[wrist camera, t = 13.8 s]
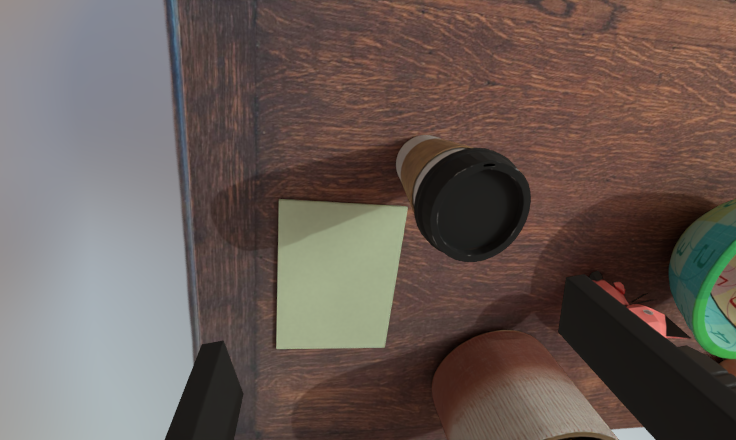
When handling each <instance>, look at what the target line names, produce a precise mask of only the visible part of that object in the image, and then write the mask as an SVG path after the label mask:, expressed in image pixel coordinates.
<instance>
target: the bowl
mask: <svg viewBox="0 0 736 440" xmlns="http://www.w3.org/2000/svg"><path fill="white" fill-rule="evenodd" d="M669 284H670V289H671V293H672V295H673V298H674V301H675V303H676V305H677V307H678V309H679V311H680V312H681V314H682V315H683V317H684V319H685V321H686V323H687V326H688V327H689V328H690V329H691V331H692V332H693V335H694V337H695V339H696V341H697V342H698V343H699V344H700V346H701V347H702V348H703V349H705V350H706V351H707V352H709V353H710V354H713V355H715V356H718V357H721V358H728V359H736V199H734V200H731V201H728V202H726V203H723V204H721V205H719V206H717V207H715V208H713V209H712V210H710V211H709V212H707V213H705V214H704V215H702V216H701V217H699V218H698V219H697V220H696V221H694V222H693V223H692V224H691V225H690V226H689V227H688V228H687V229H686V230H685V232H684V233H683V234H682V235H681V237H680V238H679V240H678V241H677V243H676V245H675V247H674V249H673V252H672V255H671V259H670V264H669Z"/></svg>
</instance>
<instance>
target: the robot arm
mask: <svg viewBox="0 0 736 440" xmlns="http://www.w3.org/2000/svg"><path fill="white" fill-rule="evenodd" d="M558 332H559V333H560V335H561V336H562V337H563V338H564V339H565V340H566V341H567V342H568V343H569V345H570V346H571V347H572V348H573V349H574V350H575V351H576V352H577V353H578V354H579V356H580V357H581V358H582V359H583V360H584V361H585V362H586V363H587V364H588V366H589V367H590V368H591V369H592V370H593V371H594V372H595V373H596V374H597V375H598V377H599V378H600V379H601V380H602V381H603V382H604V383H605V384H606V385H607V387H608V388H609V389H610V390H611V391H612V392H613V393H614V394H615V395H616V396H617V398H618V399H619V400H620V401H621V402H622V403H623V404H624V405H625V406H626V408H627V409H628V410H629V411H630V412H631V413H632V414H633V415H634V416H635V417H636V419H637V420H638V421H639V422H640V423H641V424H642V425H643V426H644V427H645V428H646V430H647V431H648V432H649V433H650V434H651V435H652V436H653V437H654V438H655V439H656V440H736V377H735V376H734V375H733V374H731V373H730V374H729V373H728V372H727V370H726V369H725V368H723V367H722V366H721V365H719V364H718V363H717V362H715V361H714V360H713V359H711V358H710V357H709V356H707V355H705V354H703V353H701V352H699V351H697V350H695V349H693V348H691V347H689V346H681V347H677V346H675V345H674V344H673V343H671V342H670V341H669V340H668V339H666V338H665V337H664V336H663V335H661V334H660V333H659V332H657V331H656V330H655V329H654V328H652V327H651V326H650V325H649V324H647V323H646V322H645V321H643V320H642V319H641V318H640V317H638V316H637V315H636V314H635V313H633V312H632V311H631V310H629V309H628V308H627V307H626V306H624V305H623V304H622V303H621V302H619V301H618V300H617V299H615V298H614V297H613V296H612V295H610V294H609V293H608V292H606V291H605V290H604V289H603V288H601V287H600V286H599V285H598V284H596V283H595V282H594V281H592V280H591V279H590V278H589V277H587V276H586V275H585V274H583V275H578V276H572V277H567V278H566V282H565V289H564V296H563V302H562V309H561V316H560V323H559V330H558ZM242 398H243V392H242V389H241V386H240V384H239V381H238V378H237V375H236V373H235V370H234V367H233V365H232V362H231V359H230V356H229V354H228V351H227V348H226V346H225V343H224V341H218V342H213V343H208V344H202V345H201V348H200V351H199V353H198V356H197V358H196V361H195V363H194V366H193V369H192V371H191V374H190V376H189V379H188V381H187V384H186V386H185V389H184V392H183V394H182V397H181V399H180V402H179V404H178V407H177V410H176V412H175V415H174V417H173V420H172V422H171V425H170V427H169V430H168V433H167V435H166V438H165V440H234V437H235V432H236V427H237V422H238V417H239V413H240V408H241V403H242Z"/></svg>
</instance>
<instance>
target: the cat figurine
mask: <svg viewBox="0 0 736 440" xmlns="http://www.w3.org/2000/svg"><path fill="white" fill-rule="evenodd" d="M589 278H590V279H591V280H592V281H594V282H595V283H596V284H598V285H599V286H600V287H601V288H603V289H604V290H605V291H606V292H608V293H609V294H610V295H612V296H613V297H614V298H615V299H617V300H618V301H619V302H621V303H622V304H623V305H624V306H626V307H627V308H628V309H629V310H631V311H632V312H633V313H635V314H636V315H637V316H638V317H640V318H641V319H642V320H643V321H645V322H646V323H647V324H649V325H650V326H651V327H652V328H654V329H655V330H656V331H657V332H659V333H660V334H661V335H663V336H664V337H665V338H666V339H667V338H687V339H691V338H690V337H689V336H688V335H687V334H686V333H685V332H684V331H682V330H681V329H680V328H679V327H678V326H677V325H676V324H675V323H673V322H672V321H671V320H670V319H669V318H668V317H667V316H665V315H664V314H662V313H660V312H658V311H655V310H653V309H651V308H649V307H647V306H644V305H640V304H639V303H643V302H647V301H652V300H647V301H643V302H638V303H634V304H633V305H629V303H628V302H627V300H626V298H625V297H624V295H623V294H625V289H624V285H623V284H622V283H621V282H613V284H614V287H615V288H614V287H613V286H611V285H610V284H609V283H607V282H606V281H605V280H604V281H603V277H602V274H601V273H600V272H599V271H596V272H592V273H591V275H590V276H589ZM647 294H648V293H647ZM644 295H646V294H643V295H641V296H640V297H642V296H644ZM640 297H638V298H637V299H639V298H640ZM637 299H635V300H637ZM635 300H633V301H632V302H634V301H635ZM632 302H631V303H632Z"/></svg>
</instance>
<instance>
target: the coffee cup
mask: <svg viewBox="0 0 736 440" xmlns="http://www.w3.org/2000/svg"><path fill="white" fill-rule="evenodd" d="M396 170H397V173H398V176H399V178H400V180H401V182H402V185H403V188H404V190H405V193H406V195H407V197H408V200H409V202H410V205H411V207H412V210H413V212H414V215H415V220H416V223H417V226H418V228H419V230H420V232H421V234H422V235H423V236H424V237H425V238H426V239H427V241H428V242H429V243H430V244H431V245H432V246H433V247H435V248H436V249H437V250H439V251H441V252H443V253H445V254H446V255H447V256H449V257H451V258H453V259H456V260H459V261H464V262H477V261H482V260H485V259H488V258H491V257H493V256H495V255H497V254H499V253H500V252H502V251H503V250H504V249H506V248H507V247H508V246H509V245H510V244H511V243H512V242H513V241H514V240H515V239H516V237H517V236H518V234H519V233H520V232H521V230H522V228H523V226H524V224H525V222H526V220H527V217H528V213H529V209H530V203H531V195H530V188H529V184H528V182H527V180H526V178H525V176H524V175H523V174H522V173H521V172H520V171H519V170H518V169H517V168H516V167H515V165H514V164H513V163H512V162H511V161H510V160H509V159H508V158H506V157H505V156H503V155H501V154H499V153H497V152H495V151H492V150H488V149H485V148H474V147H470V146H466V145H463V144H459V143H455V142H452V141H448V140H444V139H440V138H437V137H434V136H430V135H421V136H417V137H414V138H412V139H410V140H409V141H407V142H406V143H405V144H404V145H403V147H402V148H401V149H400V151H399V153H398V156H397V159H396Z"/></svg>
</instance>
